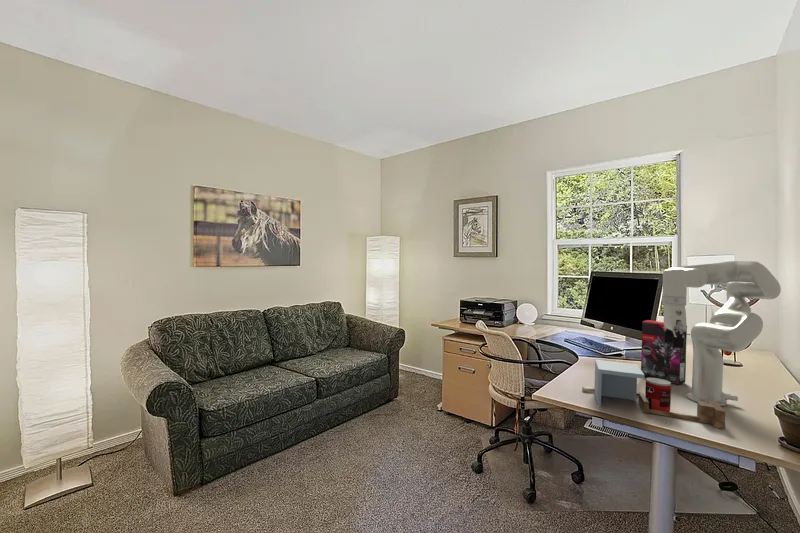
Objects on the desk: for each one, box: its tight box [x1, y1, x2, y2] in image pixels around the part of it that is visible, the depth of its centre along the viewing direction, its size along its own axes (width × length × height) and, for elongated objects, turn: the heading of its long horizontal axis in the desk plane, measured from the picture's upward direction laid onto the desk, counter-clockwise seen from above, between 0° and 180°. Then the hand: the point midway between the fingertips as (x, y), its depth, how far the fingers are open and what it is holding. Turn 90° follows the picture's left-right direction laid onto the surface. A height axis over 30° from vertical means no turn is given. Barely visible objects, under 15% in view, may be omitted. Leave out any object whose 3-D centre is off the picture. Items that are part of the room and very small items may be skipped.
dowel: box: [582, 386, 595, 394], centre depth 160 cm, size 12×2×2 cm, turn 87°
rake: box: [637, 392, 727, 430], centre depth 137 cm, size 23×15×6 cm, turn 66°
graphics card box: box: [640, 319, 688, 385], centre depth 178 cm, size 17×7×27 cm, turn 32°
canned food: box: [644, 377, 672, 412], centre depth 142 cm, size 8×8×11 cm
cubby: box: [593, 359, 645, 408], centre depth 147 cm, size 15×15×14 cm
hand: (673, 344), depth 145 cm, fingers open, 9 cm apart
